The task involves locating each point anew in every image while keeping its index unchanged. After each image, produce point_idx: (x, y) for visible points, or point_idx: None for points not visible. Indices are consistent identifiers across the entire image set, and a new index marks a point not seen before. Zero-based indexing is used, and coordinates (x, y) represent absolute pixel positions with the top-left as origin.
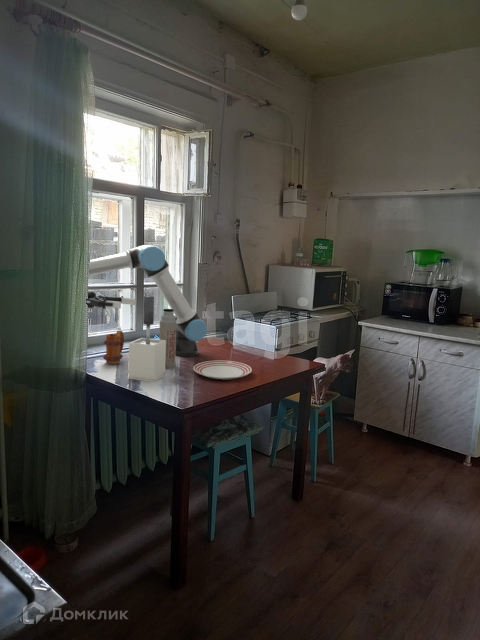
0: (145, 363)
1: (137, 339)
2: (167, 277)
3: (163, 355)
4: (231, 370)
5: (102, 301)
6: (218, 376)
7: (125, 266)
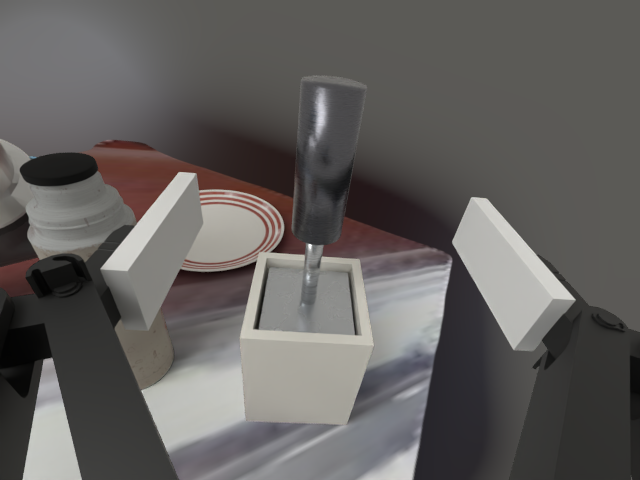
0: None
1: (288, 339)
2: None
3: None
4: None
5: (625, 341)
6: (249, 234)
7: None
